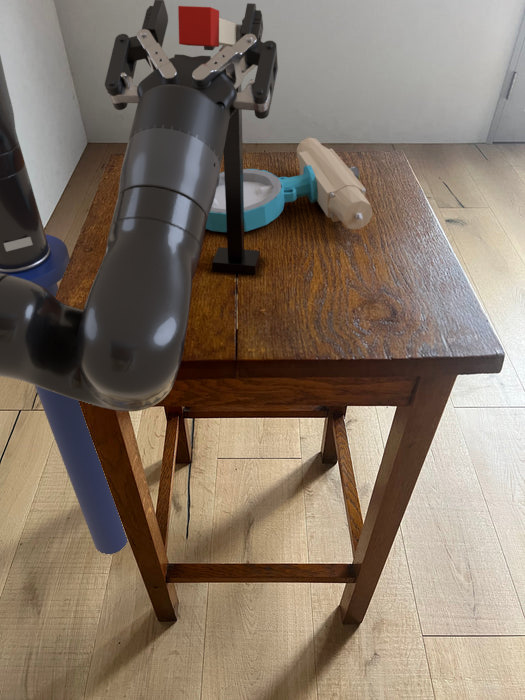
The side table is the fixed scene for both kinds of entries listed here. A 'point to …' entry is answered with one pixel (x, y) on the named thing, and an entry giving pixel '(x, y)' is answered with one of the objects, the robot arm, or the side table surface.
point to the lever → (206, 27)
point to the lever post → (234, 202)
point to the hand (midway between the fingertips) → (206, 10)
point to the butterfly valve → (298, 191)
